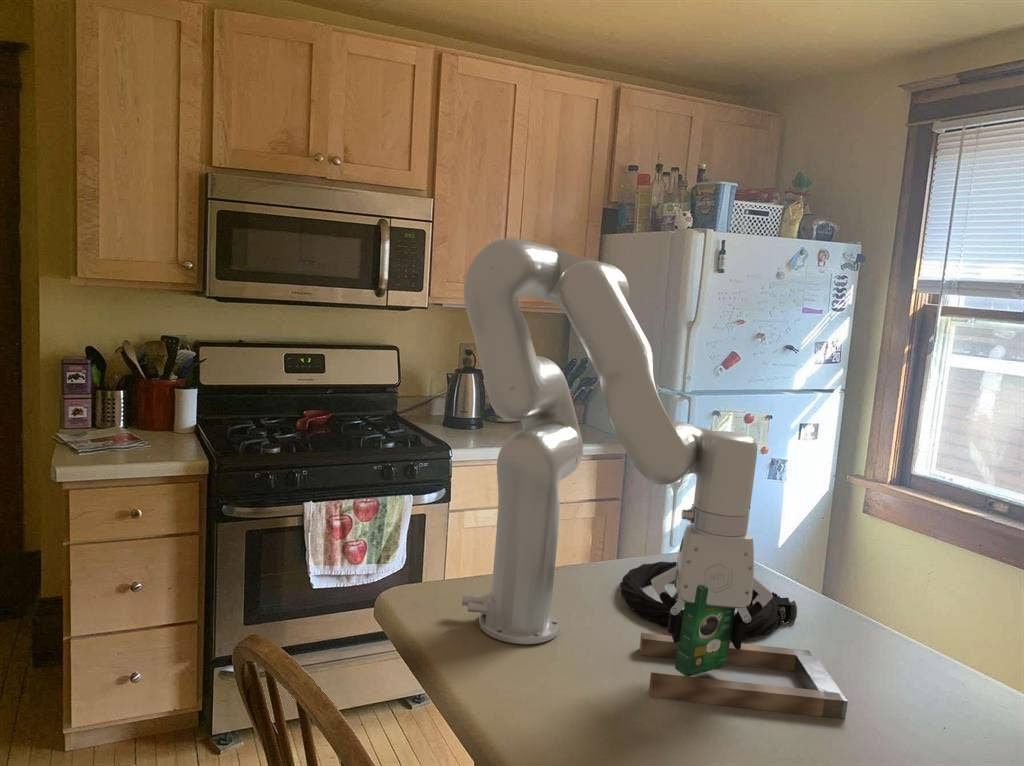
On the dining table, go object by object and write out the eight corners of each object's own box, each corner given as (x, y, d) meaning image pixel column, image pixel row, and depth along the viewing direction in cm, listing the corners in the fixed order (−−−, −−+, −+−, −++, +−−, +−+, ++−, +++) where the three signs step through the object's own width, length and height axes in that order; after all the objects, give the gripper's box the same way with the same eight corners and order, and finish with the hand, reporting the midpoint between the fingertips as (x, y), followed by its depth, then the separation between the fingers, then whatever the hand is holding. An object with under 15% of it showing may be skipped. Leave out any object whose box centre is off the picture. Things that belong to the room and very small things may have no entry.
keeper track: (650, 697, 101) (652, 679, 101) (639, 648, 115) (641, 632, 115) (845, 718, 100) (847, 701, 100) (810, 666, 114) (812, 650, 114)
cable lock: (625, 549, 149) (785, 573, 144) (623, 568, 150) (782, 592, 144) (616, 604, 122) (812, 636, 117) (613, 627, 123) (808, 659, 117)
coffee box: (713, 657, 111) (726, 572, 109) (728, 667, 109) (741, 580, 107) (673, 668, 107) (685, 580, 105) (687, 678, 105) (700, 588, 103)
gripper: (659, 523, 102) (646, 647, 104) (791, 536, 101) (775, 661, 103) (653, 507, 109) (640, 623, 112) (775, 519, 108) (760, 636, 111)
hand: (705, 641), depth 107 cm, fingers closed on coffee box, 8 cm apart
